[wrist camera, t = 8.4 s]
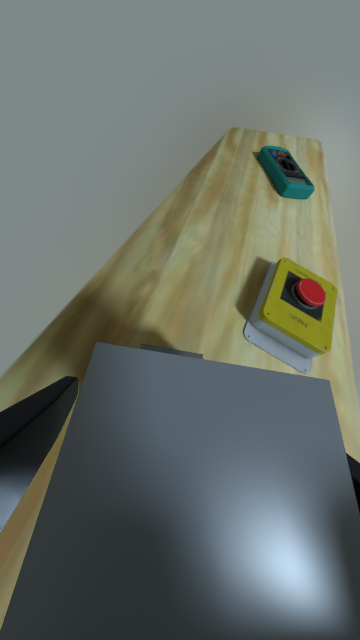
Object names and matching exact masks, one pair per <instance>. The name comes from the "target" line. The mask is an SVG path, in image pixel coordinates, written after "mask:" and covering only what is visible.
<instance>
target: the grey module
mask: <svg viewBox="0 0 360 640" xmlns="http://www.w3.org/2000/svg"><path fill="white" fill-rule="evenodd" d="M0 640H360V513H359V509H358V504H357V500H356V496H355V491H354V487H353V482H352V478H351V474H350V469H349V465H348V461H347V456H346V452H345V447H344V443H343V439H342V434H341V430H340V425H339V421H338V417H337V412H336V408H335V404H334V399H333V395H332V390H331V386H330V382H329V380H325V379H319V378H313V377H307V376H301V375H295V374H289V373H282V372H276V371H270V370H264V369H258V368H252V367H246V366H240V365H234V364H228V363H222V362H216V361H210V360H204V359H198V358H192V357H186V356H180V355H174V354H168V353H162V352H156V351H150V350H144V349H138V348H132V347H126V346H120V345H114V344H107V343H101V342H96V343H95V346H94V349H93V352H92V355H91V359H90V362H89V365H88V368H87V371H86V374H85V377H84V380H83V383H82V386H81V389H80V392H79V395H78V398H77V401H76V404H75V407H74V410H73V413H72V416H71V419H70V422H69V425H68V428H67V431H66V434H65V437H64V440H63V443H62V446H61V449H60V452H59V455H58V458H57V461H56V464H55V467H54V470H53V473H52V476H51V480H50V483H49V486H48V489H47V492H46V495H45V498H44V501H43V504H42V507H41V510H40V513H39V516H38V519H37V522H36V525H35V528H34V531H33V534H32V537H31V540H30V543H29V546H28V549H27V552H26V555H25V558H24V561H23V564H22V567H21V570H20V573H19V576H18V579H17V582H16V585H15V588H14V591H13V594H12V597H11V600H10V604H9V607H8V610H7V613H6V616H5V619H4V622H3V625H2V628H1V631H0Z"/></svg>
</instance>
